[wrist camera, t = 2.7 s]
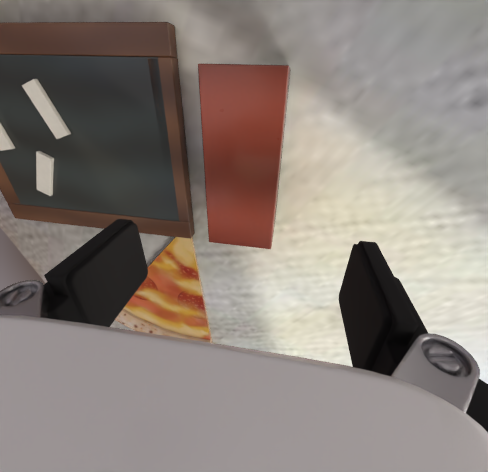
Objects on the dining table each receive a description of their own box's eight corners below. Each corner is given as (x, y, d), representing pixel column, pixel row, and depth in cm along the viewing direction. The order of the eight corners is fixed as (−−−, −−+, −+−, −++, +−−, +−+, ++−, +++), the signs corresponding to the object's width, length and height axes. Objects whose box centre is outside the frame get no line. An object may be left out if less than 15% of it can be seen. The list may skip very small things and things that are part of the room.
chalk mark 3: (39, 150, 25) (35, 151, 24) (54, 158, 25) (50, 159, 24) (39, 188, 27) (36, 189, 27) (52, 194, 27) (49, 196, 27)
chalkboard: (-71, 25, 21) (-89, 22, 20) (174, 24, 18) (167, 21, 17) (24, 213, 31) (15, 218, 30) (194, 233, 28) (191, 238, 27)
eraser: (218, 66, 19) (197, 63, 15) (290, 68, 19) (289, 65, 14) (222, 216, 26) (208, 242, 22) (275, 221, 26) (271, 249, 21)
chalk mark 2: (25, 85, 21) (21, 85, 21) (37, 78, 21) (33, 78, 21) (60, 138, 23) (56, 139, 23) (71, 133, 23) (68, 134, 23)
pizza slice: (288, 300, 32) (287, 312, 30) (190, 358, 43) (186, 369, 41) (191, 219, 28) (184, 228, 26) (111, 306, 39) (103, 316, 37)
